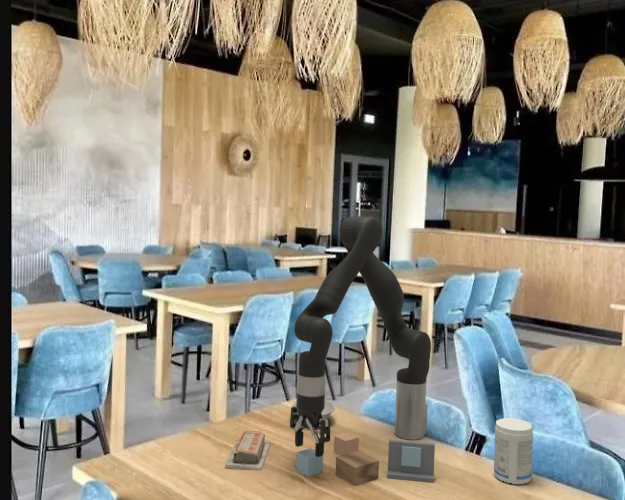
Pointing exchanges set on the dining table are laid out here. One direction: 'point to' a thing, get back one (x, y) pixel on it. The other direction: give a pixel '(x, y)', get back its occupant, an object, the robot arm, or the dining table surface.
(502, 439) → the supplement tub
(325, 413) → the dish
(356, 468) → the walnut block
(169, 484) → the dining table surface
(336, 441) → the terracotta block
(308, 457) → the blue block
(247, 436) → the packaged product
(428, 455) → the display stand
